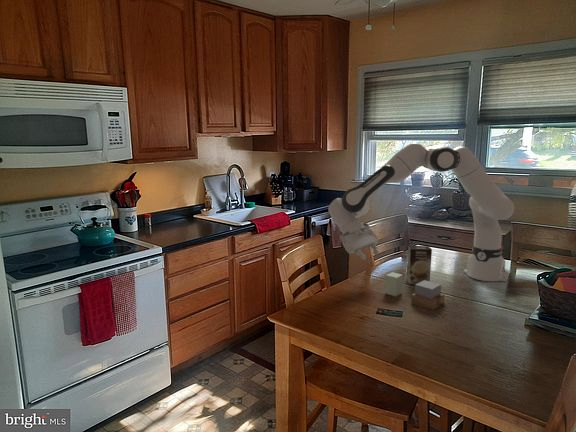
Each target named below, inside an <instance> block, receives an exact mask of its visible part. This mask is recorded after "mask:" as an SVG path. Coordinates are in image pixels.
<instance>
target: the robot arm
mask: <svg viewBox="0 0 576 432" xmlns="http://www.w3.org/2000/svg"><path fill="white" fill-rule="evenodd" d="M420 167H424V168H426V169H428V170H430V171H433V172H439V173H442V172H443V173H444V172H448V171H450V170H451V171H452V172H453V173H454V174H453V175H455V177H456V178H457V180H458V182H459V183H460V184H461V186H462V188H463V189H464V191H465V192H466V193H467V194H468V195H469V199H468V205H469V207H470V209H471V212H472V218H473V226H474V236H473V237H474V238H473V245H472V248H471V250H472V251H471V253H472V254H470V255H469V256H468V258H467V259H468V260H467V266H466V268H465V269H464V270H463V273H464V274H466V275H467V276H468V277H469V278H472V279H474V280H478V281H484V282H507V281H508V279H509V276H510V274H511V270H510V269H507V268H506V259H504V258H503V256H502V254H503V249H504V246H501V245H502V237H503V235H502V234H503V231H502V228H501V227H500V223H499V221H504V220H507V219H509V218H511V217H512V215H514V212H515V204H514V202H513V200H511V199H510V198H509V197H508V196H506V194H505V193H504V192H503V191H502V190H501V188H499V186H498V185H497V184H496V183H495V182H494V181H493V180H492V179H491V177H490V176H489V175H488V173H487V171H486V170H485V168H484V167H483V166H482V163H481V162H480V160H479V159H478V158H477V157H476V156H475V154H474V153H473V152H472V151H471V149H469V148H468V147H466V146H457V147H455V148H454V149H453V148H451V147H450V146H443V145H441V144H440V145H439V144H437V145H427V146H423V144H421V143H419V142H411V143H409V144H408V145H406V146H405V147H403V148H401V149H400V150H399V151H398V152H396V153H395V155H393V156H392V157H391V158H390V159H389V160H388V161H387V162H385V163H384V164H383V165H382V166H381V167H380V168H378V169H377V171H375V172H374V173H372V174H371V175H370V176H369V177H368V178H367V179H365V180H363V182H361V183H359V184H358V185H357V186H355V187H352V188H349V189H347V190H346V191H344V193H343V194H342V197H337V198H335V199H333V200H332V201H331V202H330V203H329V205H328V208H327V209H328V213H329V215H330V217H331V219H332V221H333V222H334V223H335V225H337V226H338V228H339V229H340V230H339V231H340V232H341V234H340V236H339V239H340V240H341V244H342V245H343V247H344V249H345V251H346V252H347V254H350V255H351V254H355V255H357V256H358V257H360V258H361V260H366V259H367V255H366V254H365V253H363V252H362V250H365V249H368V248H371V249H372V253H373V254H374V256H376V255H378V254H380V252H379V250H378V248H377V244H378V243H379V237H378V236H377V234H376V233H375V232H374V230H373V229H372V228H370V225H369V224H370V223H367V222H363V221H359V220H358V218H361V217H363V216H364V215H366V214H368V213H369V211H370V209H371V202H370V200H369V197H371V196H372V195H373V194H374V193H375V192H377V191H378V190H379V189H380V188H381V187H383V186H384V185H386V184H392V183H394V184H399V183H402V182H403V181H404V180H406V179H407V178H409V177H410V176H411V175H412V174H413V173H414V172H415V171H416V170H417V169H419V168H420Z"/></svg>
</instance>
